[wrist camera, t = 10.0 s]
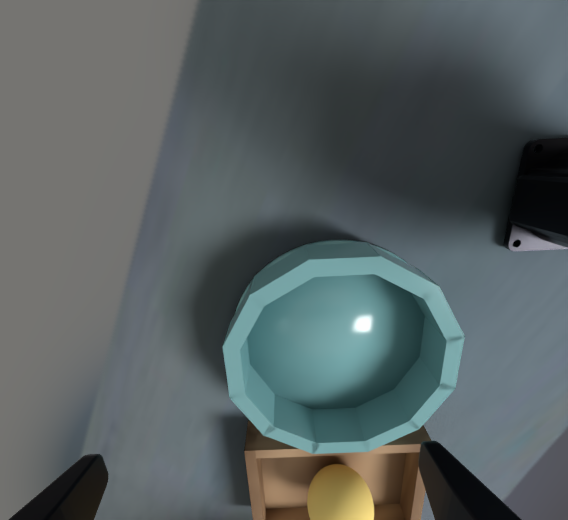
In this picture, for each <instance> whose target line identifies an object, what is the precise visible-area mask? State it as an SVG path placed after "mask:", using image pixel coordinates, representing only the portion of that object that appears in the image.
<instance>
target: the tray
mask: <svg viewBox="0 0 568 520" xmlns="http://www.w3.org/2000/svg"><path fill="white" fill-rule="evenodd" d="M423 441H431V439H430V437H429V435H428V433H427V431H426V429H425V427H424V426H423V425H422V427H421V428H420V429H419V430H416V431H414V432H412V433H409V434H407V435H405V436H403V437H400V438H398V439H396V440H394V441H391V442H389V443H387V444H385V445H382V446H380V447H378V448H376V449H373V450H371V451H369V452H351V453H325V454H312V453H309V452H306V451H304V450H301V449H298V448H296V447H293V446H290V445H288V444H285V443H282V442H280V441H277V440H274V439H272V438H269V437H266V436H263V434H262V433H261V432H260V431H259V430H258V429H257V428H256V427H255V425H254V424H253V423H252V422H251V421H250V420H248V427H247V434H246V442H245V449H244V453H245V461H246V468H247V476H248V484H249V492H250V500H251V508H252V516H253V520H310V517H309V513H308V507H307V498H308V491H309V487H310V484H311V482H312V480H313V478H314V476H315V475H316V474H317V473H318V472H319V471H320V470H321V469H322V468H324V467H326V466H328V465H332V464H342V465H345V466H348V467H350V468H352V469H353V470H355V471H356V472H357V473H358V474H359V475H360V476H361V477H362V478H363V479H364V481H365V482H366V484H367V486H368V488H369V490H370V492H371V495H372V499H373V503H374V520H421V514H422V508H423V502H424V496H425V487H424V484H423V480H422V477H421V474H420V471H419V466H418V460H419V453H420V446H421V443H422V442H423Z"/></svg>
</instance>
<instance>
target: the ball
mask: <svg viewBox="0 0 568 520" xmlns="http://www.w3.org/2000/svg"><path fill="white" fill-rule="evenodd" d="M307 507H308V513H309V517H310V520H374V503H373V499H372V495H371V492H370V490H369V488H368V486H367V484H366V482H365V481H364V479H363V478H362V477H361V476H360V475H359V474H358V473H357V472H356V471H355V470H353V469H352V468H350V467H348V466H345V465H342V464H332V465H328V466H326V467H324V468H322V469H321V470H320V471H319V472H318V473H317V474H316V475H315V476H314V478H313V480H312V482H311V484H310V487H309V491H308V498H307Z"/></svg>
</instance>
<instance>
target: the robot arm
mask: <svg viewBox="0 0 568 520" xmlns="http://www.w3.org/2000/svg"><path fill="white" fill-rule="evenodd" d="M535 146H537V150H536V152H535V153H534V151H533V149H534V147H535ZM515 240H516V243H515V244H514V245H513V242H514V241H515ZM504 246H505V248H507V249H509V250H511V251H531V250H553V249H568V138H556V139H538V140H531V141H530V142H528V143H527V144H526V145H525V147H524V150H523V154H522V159H521V164H520V169H519V173H518V178H517V183H516V187H515V192H514V197H513V202H512V207H511V211H510V216H509V221H508V226H507V231H506V236H505V240H504ZM418 466H419V471H420V474H421V477H422V480H423V484H424V487H425V490H426V493H427V496H428V499H429V502H430V505H431V508H432V511H433V515H434V518H435V520H521V519H520V518H519V517H518V516H517V515H516V514H515V513H514V512H513V511H512V510H511V509H510V508H509V507H508V506H506V505H505V504H504V503H503V502H502V501H501V500H500V499H499V498H498V497H497V496H496V495H495V494H494V493H492V492H491V491H490V490H489V489H488V488H487V487H486V486H485V485H484V484H483V483H482V482H481V481H480V480H479V479H477V478H476V477H475V476H474V475H473V474H472V473H471V472H470V471H469V470H468V469H467V468H466V467H465V466H464V465H462V464H461V463H460V462H459V461H458V460H457V459H456V458H455V457H454V456H453V455H452V454H451V453H450V452H448V451H447V450H446V449H445V448H444V447H443V446H442V445H441V444H440V443H438V442H437V441H423V442H422V443H421V446H420V453H419V460H418ZM107 482H108V471H107V468H106V466H105V463H104V460H103V457H102V456H101V455H100V454H88V455H85V456H83V457H82V458H80V459H79V460H78V461H77V462H76V463H75V464H73V465H72V466H71V467H70V468H69V469H68V470H66V471H65V472H64V473H63V474H62V475H60V476H59V477H58V478H57V479H56V480H55V481H53V482H52V483H51V484H50V485H49V486H48V487H46V488H45V489H44V490H43V491H42V492H41V493H39V494H38V495H37V496H36V497H35V498H33V499H32V500H31V501H30V502H29V503H28V504H26V505H25V506H24V507H23V508H22V509H21V510H19V511H18V512H17V513H16V514H15V515H13V516H12V517H11V518H10V519H9V520H94V518H95V515H96V513H97V510H98V507H99V504H100V502H101V499H102V496H103V494H104V491H105V488H106V485H107Z"/></svg>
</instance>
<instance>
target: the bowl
mask: <svg viewBox="0 0 568 520" xmlns="http://www.w3.org/2000/svg"><path fill="white" fill-rule="evenodd" d="M464 338H465V336H464V334H463V332H462V330H461V328H460V326H459V324H458V322H457V320H456V319H455V317H454V315H453V313H452V311H451V309H450V307H449V305H448V303H447V301H446V299H445V297H444V295H443V293H442V291H441V289H440V287H439V286H438V285H437V284H436V283H435V282H433V281H432V280H431V279H430V278H429V277H427V276H426V275H425V274H424V273H422V272H421V271H420V270H419V269H417V268H415V267H413V266H411V265H409V264H408V263H406V262H405V261H404V260H403V259H401V258H400V257H398V256H397V255H395V254H393V253H392V252H390V251H388V250H386V249H383V248H381V247H379V246H376V245H373V244H369V243H368V242H361V241H354V240H336V239H334V240H325V241H318V242H314V243H309V244H305V245H303V246H300V247H297V248H295V249H292V250H290V251H288V252H286V253H284V254H282V255H280V256H279V257H277V258H276V259H274V260H273V261H271V262H270V263H269V264H267V265H266V266H265V267H264V268H263V269H262V270H261V271H260V272H259V273H257V275H255V276H254V278H253V279H252V281H251V282H250V283H249V284H248V286H247V288H246V289H245V291H244V293H243V294H242V296H241V299H240V301H239V303H238V306H237V309H236V312H235V314H234V316H233V318H232V320H231V321H230V325H229V328H228V331H227V334H226V337H225V340H224V343H223V347H222V348H223V353H224V361H225V368H226V375H227V382H228V389H229V398H230V399H231V400H232V401H233V402H234V403H235V404H236V405H237V406H238V408H239V409H240V410H241V411H242V412H243V413H244V414H245V415H246V417H247V418H248V419H249V420H250V421H251V422H252V423H253V424H254V425H255V427H256V428H257V429H258V430H259V431H260V432H261V433H262V434H263V436H266V437H269V438H272V439H274V440H277V441H280V442H282V443H285V444H288V445H290V446H293V447H296V448H298V449H301V450H304V451H306V452H309V453H312V454H325V453H351V452H369V451H371V450H373V449H376V448H378V447H380V446H382V445H385V444H387V443H389V442H391V441H394V440H396V439H398V438H400V437H403V436H405V435H407V434H409V433H412V432H414V431H416V430H419V429H420V428H421V427H422V425H423V424H424V423H425V422H426V421H427V420H428V419H429V417H430V416H431V415H432V414H433V413H434V412H435V411H436V410H437V408H438V407H439V406H440V405H441V404H442V403H443V402H444V401H445V399H446V398H447V397H448V396H449V395H450V394H451V393H452V391H453V390H454V389H455V387H456V381H457V376H458V370H459V365H460V359H461V354H462V348H463V343H464Z"/></svg>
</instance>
